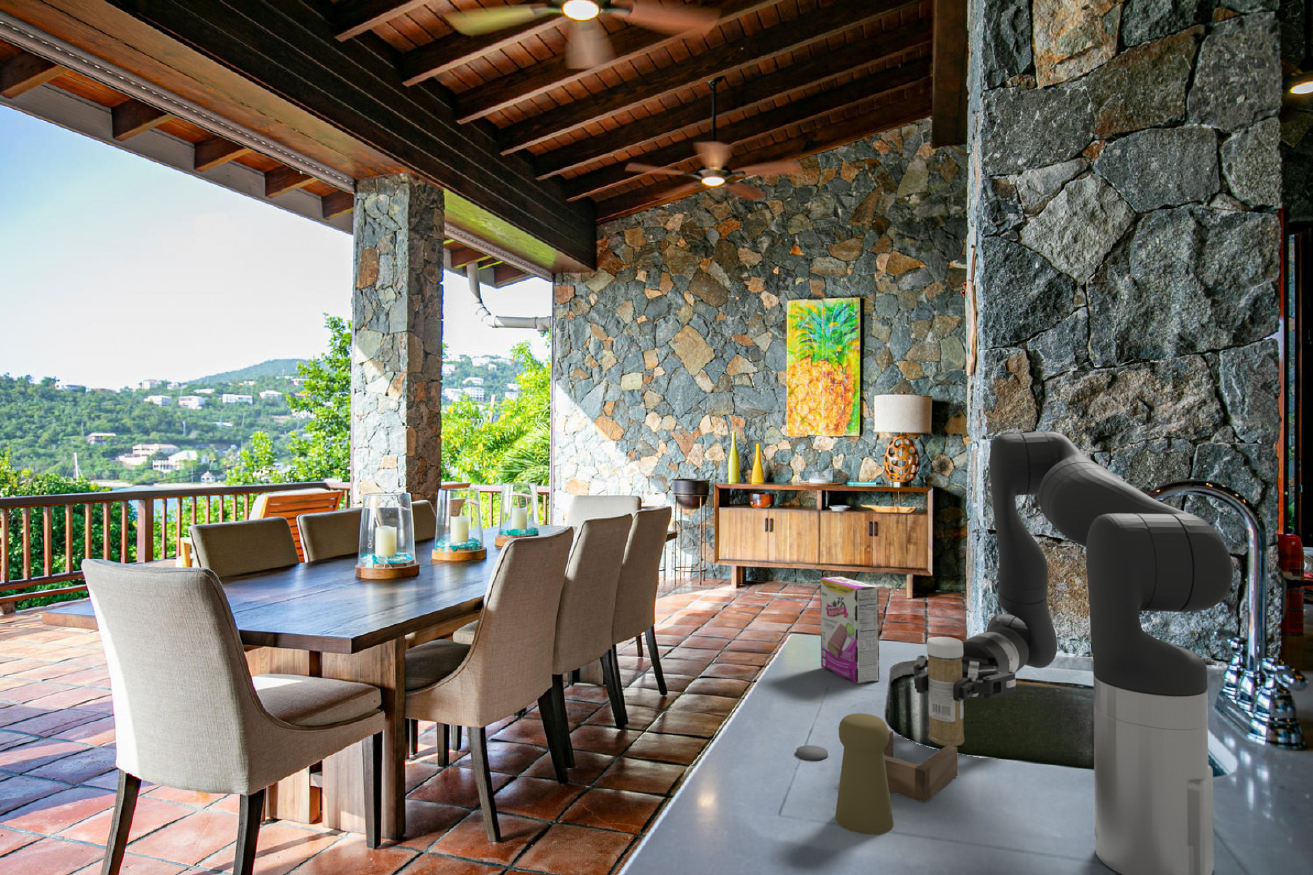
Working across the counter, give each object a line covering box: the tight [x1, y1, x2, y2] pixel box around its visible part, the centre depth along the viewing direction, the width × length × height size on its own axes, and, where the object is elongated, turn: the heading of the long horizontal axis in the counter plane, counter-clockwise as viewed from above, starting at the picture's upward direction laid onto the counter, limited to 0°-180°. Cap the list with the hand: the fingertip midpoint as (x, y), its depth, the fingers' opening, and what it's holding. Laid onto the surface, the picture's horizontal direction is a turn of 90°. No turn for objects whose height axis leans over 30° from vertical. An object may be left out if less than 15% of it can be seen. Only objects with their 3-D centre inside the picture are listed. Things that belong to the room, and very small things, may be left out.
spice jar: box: [926, 636, 965, 747], centre depth 103 cm, size 5×5×14 cm
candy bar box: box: [819, 576, 880, 685], centre depth 137 cm, size 11×5×16 cm, turn 22°
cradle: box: [883, 729, 959, 803], centre depth 94 cm, size 9×9×4 cm
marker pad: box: [795, 744, 829, 761], centre depth 101 cm, size 4×4×1 cm
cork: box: [834, 712, 895, 836], centre depth 83 cm, size 6×6×11 cm
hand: (937, 689), depth 101 cm, fingers closed on spice jar, 4 cm apart
